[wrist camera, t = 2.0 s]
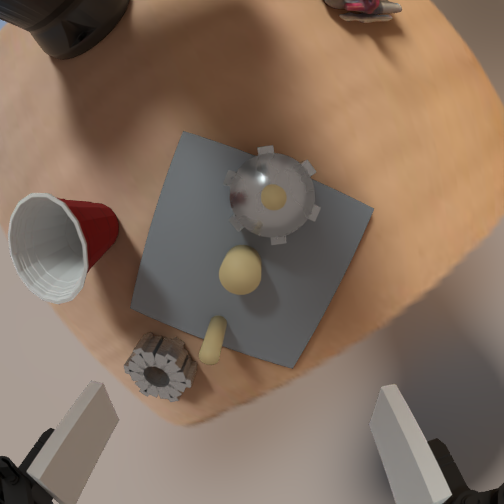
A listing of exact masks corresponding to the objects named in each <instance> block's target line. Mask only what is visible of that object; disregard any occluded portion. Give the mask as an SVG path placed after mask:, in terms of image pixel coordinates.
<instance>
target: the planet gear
mask: <svg viewBox="0 0 504 504" xmlns="http://www.w3.org/2000/svg"><path fill="white" fill-rule="evenodd" d="M184 343H185V342H183V341H182V340H180V339H179V338H177V337H175V339H174V340H172V339H170V338H168V337H165V338H164V340H163V338H162V336H154V335H153V333H152V332H150V333H147V334H144V335H143V337H142V338H141V340H140V341H139V342H138V344H137V345H136V347H135V348H134V350H133V352H132V354H131V355H130V357H129V358H128V360H127V361H126V363H125V364H124V369H125V373H127V374H130V376H131V378H132V380H133V381H136V382H135V384H136V385H137V386H138V387H139V388H140V390H139V392H141V393H142V394H144V395H146V396H147V397H148V395H152V396H154V397H157V396H158V394H159V396H160V398H161V399H169V401H170V402H174V401H179V399H180V396H181V395H182V393H183V392H184V390H185V388H186V387H189V388H191V386H192V383H193V380H194V377H195V374H196V371H197V362H194V361H192V360H191V356H190V355H187V353H188V351H187V350H186V349H185V348H184V347H183V345H184Z"/></svg>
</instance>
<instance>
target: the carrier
mask: <svg viewBox="0 0 504 504" xmlns="http://www.w3.org/2000/svg"><path fill="white" fill-rule="evenodd" d="M253 157H255V156H254V155H252V154H249V153H247V152H244V151H241V150H238V149H236V148H233V147H230V146H227V145H224V144H222V143H219V142H216V141H213V140H210V139H207V138H204V137H201V136H198V135H195V134H191V133H188V132H185V131H183V133H182V136H181V138H180V141H179V143H178V146H177V149H176V151H175V154H174V157H173V159H172V162H171V165H170V168H169V170H168V173H167V176H166V179H165V182H164V185H163V188H162V191H161V194H160V197H159V200H158V203H157V206H156V210H155V213H154V216H153V220H152V223H151V226H150V230H149V233H148V237H147V240H146V244H145V248H144V251H143V255H142V259H141V263H140V267H139V271H138V275H137V279H136V284H135V288H134V293H133V297H132V302H131V307H130V308H131V309H133V310H135V311H137V312H140V313H142V314H144V315H146V316H148V317H151V318H153V319H155V320H158V321H160V322H162V323H165V324H167V325H169V326H172V327H174V328H177V329H179V330H181V331H184V332H186V333H189V334H191V335H194V336H197V337H199V338H202V339H204V341H203V344H202V346H201V349H200V352H199V359H200V361H201V362H203V363H204V364H207V365H214V364H216V363H217V362H218V361H219V357H220V353H221V348H222V346H223V347H226V348H229V349H232V350H235V351H238V352H241V353H244V354H247V355H250V356H253V357H256V358H259V359H262V360H265V361H268V362H272V363H275V364H278V365H282V366H285V367H288V368H292V369H293V367H294V365H295V364H296V362H297V360H298V359H299V357H300V355H301V354H302V352H303V350H304V349H305V347H306V345H307V343H308V342H309V340H310V338H311V336H312V335H313V333H314V331H315V329H316V327H317V326H318V324H319V322H320V320H321V318H322V317H323V315H324V313H325V311H326V309H327V307H328V305H329V303H330V302H331V300H332V298H333V296H334V294H335V292H336V290H337V288H338V286H339V284H340V282H341V280H342V278H343V276H344V274H345V272H346V270H347V268H348V266H349V264H350V262H351V260H352V257H353V255H354V253H355V251H356V249H357V247H358V245H359V242H360V240H361V238H362V236H363V233H364V231H365V229H366V227H367V224H368V222H369V220H370V217H371V215H372V213H373V210H374V208H372V207H370V206H368V205H366V204H364V203H362V202H360V201H358V200H356V199H354V198H352V197H350V196H347V195H345V194H343V193H341V192H339V191H337V190H335V189H333V188H331V187H328V186H326V185H324V184H322V183H320V182H317V181H315V180H313V179H312V182H313V185H314V190H315V201H314V204H315V205H317V206H319V207H321V209H320V211H319V214H318V216H317V218H316V221H312V220H310V219H307V221H306V222H305V223H304V224H303V225H302V226H301V227H300V228H299V229H297V230H296V231H294V232H293V233H291V234H288V235H286V241H287V243H284V244H277V245H271V238H270V237H263V236H259V235H256V234H254V233H252V232H250V231H249V230H247V229H246V228H245V227H244V228H243V229H242V230H240V231H239V232H238V231H237V230H236V229H235V228H234V226H233V225H232V224H231V223H230V221H229V219H230V217H231V216H232V215H233V214H234V213H233V211H232V208H231V204H230V187H228V186H225V185H223V183H224V180H225V177H226V175H227V172H228V170H231V171H234V172H237V170H238V169H239V168H240V167H241V166H242V165H243V164H244V163H245V162H246V161H248V160H249V159H251V158H253ZM286 200H287V195H286V192H285V191H284V189H283V188H281V187H280V186H278V185H275V184H270V185H267V186H266V187H264V189H263V190H262V193H261V201H262V204H263V205H264V206H265V207H266V208H267V209H269V210H279V209H281V208H282V207H283V206H284V205H285V203H286Z"/></svg>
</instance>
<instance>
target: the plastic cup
mask: <svg viewBox="0 0 504 504" xmlns="http://www.w3.org/2000/svg"><path fill="white" fill-rule="evenodd" d="M118 230H119V224H118V221H117V217H116V215H115V214H114V212H113V211H112V210H111V208H109V207H107V206H106V205H103V204H100V203H92V202H86V201H73V200H65V199H59V198H56V197H54V196H53V195H51V194H49V193H31V194H29V195H28V196H26V197H25V198H24V199H22V200H21V201H19V202H18V204H17V206H16V208H15V210H14V212H13V213H12V215H11V218H10V224H9V231H8V242H9V250H10V256H11V259H12V261H13V264H14V266H15V269H16V271H17V274H18V275H19V277H20V278H21V279H22V281H23V282H24V284H25V285H26V286H27V288H28V289H29V290H30V291H31V292H32V293H34V294H35V295H37V296H38V297H39V298H41V299H42V300H43V301H47V302H51V303H55V304H61V303H64V302H68V301H71V300H73V299H74V297H75V296H76V295H77V294H78V293H79V292H80V291H81V289H82V288H83V286H84V282H85V278H86V274H87V273H88V271H89V270H90V268H91V267H92V266H93V265H94V264H95V263H96V262H97V261H98V260H99V259H100V258H101V257H102V256H103V254H104V253H105V252H106V251H107V250H108V249H109V248H110V247H111V246H112V245H113V244H114V242H115V241H116V238H117V235H118Z"/></svg>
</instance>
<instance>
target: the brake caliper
mask: <svg viewBox="0 0 504 504" xmlns="http://www.w3.org/2000/svg"><path fill="white" fill-rule="evenodd" d="M324 1H325V2H326V3H327V4H328V5H329V6H330V7H332V8H336V9H346V10H347V11H358V12H364V13H361V14H354V13H352V12H350V13H346V14H340V15H339V16H340V18H341V19H344V20H346V21H349V22H350V21H352V20H357V21H360V22H362V23H370V22H374V21H389V20H391V19H392V16H390V15H377V14H382V13H398V12H401V11H402V8H401V6H400V5H399V4H398V3H393V2H389V1H388V0H324Z"/></svg>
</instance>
